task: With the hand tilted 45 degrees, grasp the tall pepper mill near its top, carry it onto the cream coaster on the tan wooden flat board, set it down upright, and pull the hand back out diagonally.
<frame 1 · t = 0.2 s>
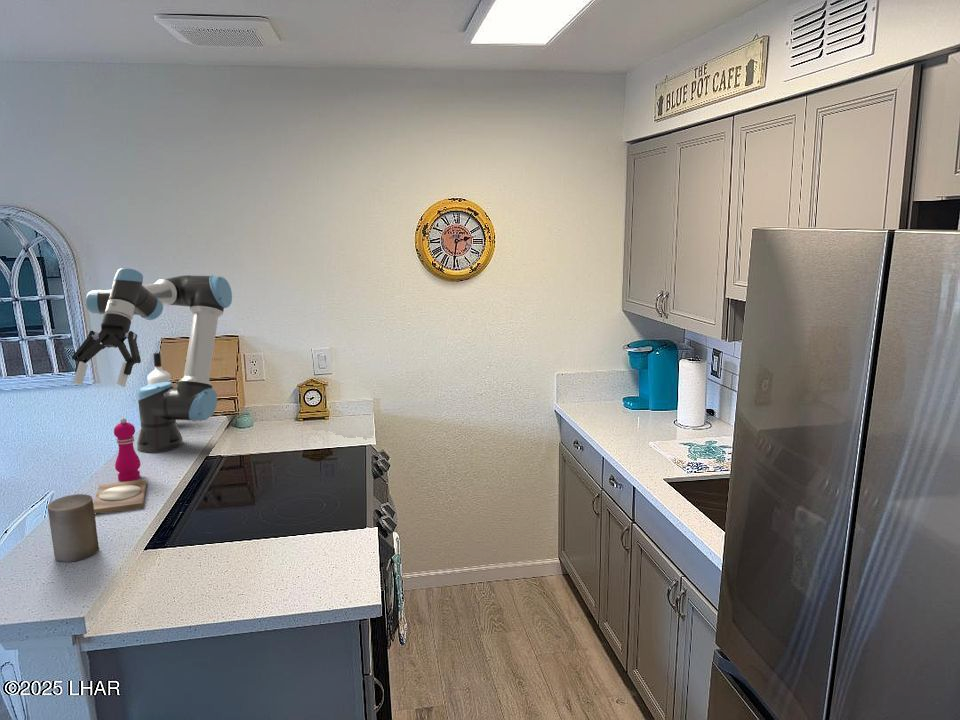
hand: (99, 384, 195), 35 cm above the counter, tool tilted 35°, fingers open, 13 cm apart
pepper mill: (129, 478, 219), on the counter
vodka: (163, 426, 273), on the counter
pillar candle: (76, 554, 170), on the counter
tan wooden flat board: (120, 498, 203), on the counter
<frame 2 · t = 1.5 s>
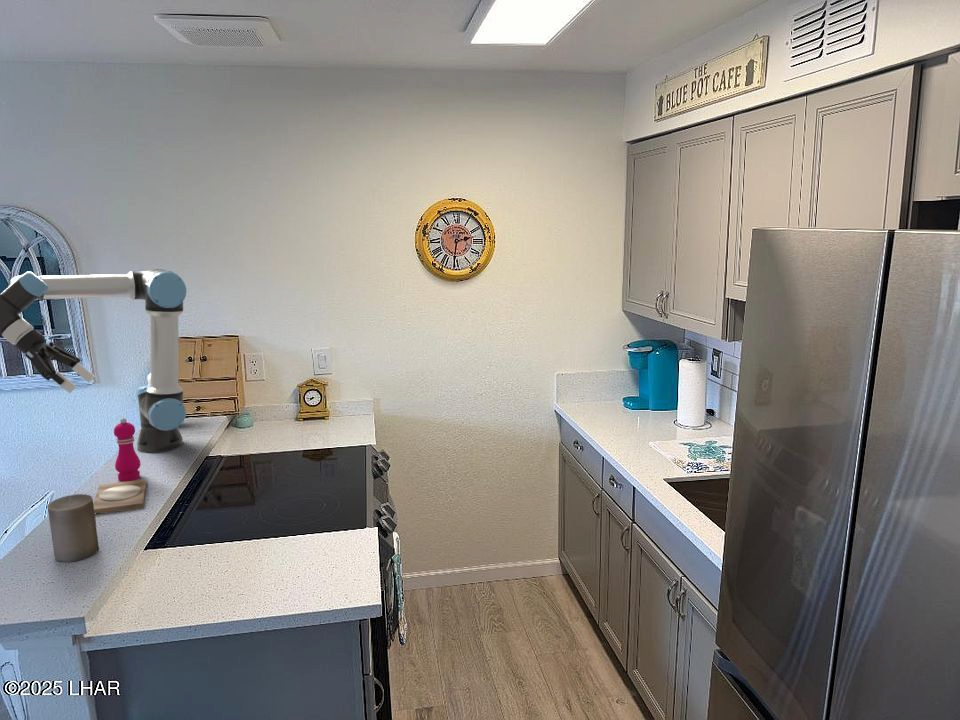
hand: (83, 384, 211), 31 cm above the counter, tool tilted 45°, fingers open, 13 cm apart
nothing on the counter moved.
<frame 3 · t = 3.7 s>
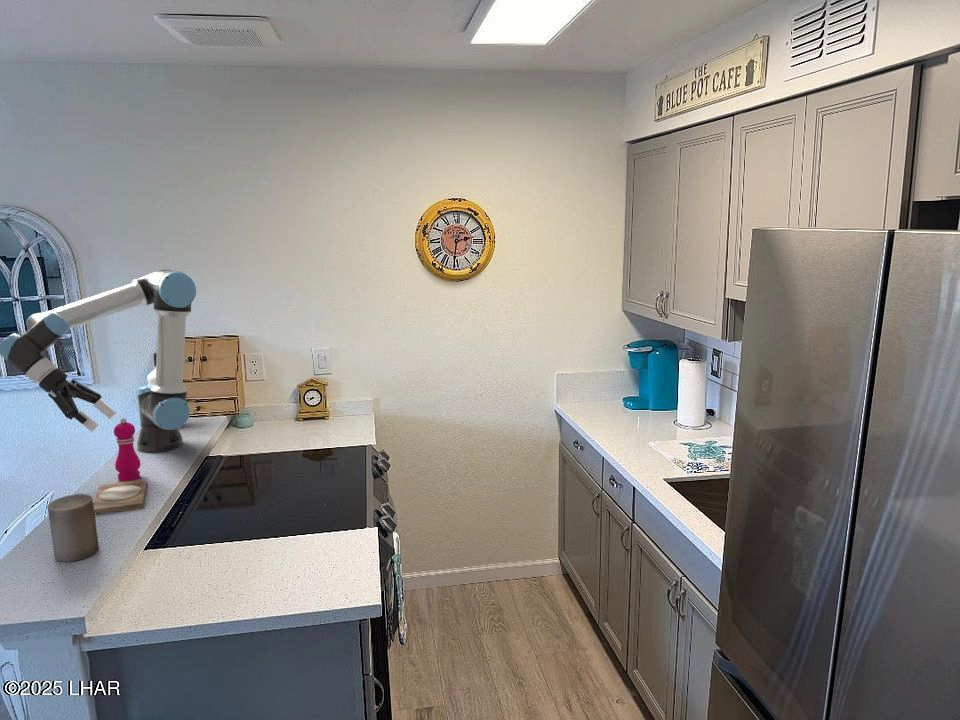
hand: (104, 422, 214), 19 cm above the counter, tool tilted 45°, fingers open, 13 cm apart
nothing on the counter moved.
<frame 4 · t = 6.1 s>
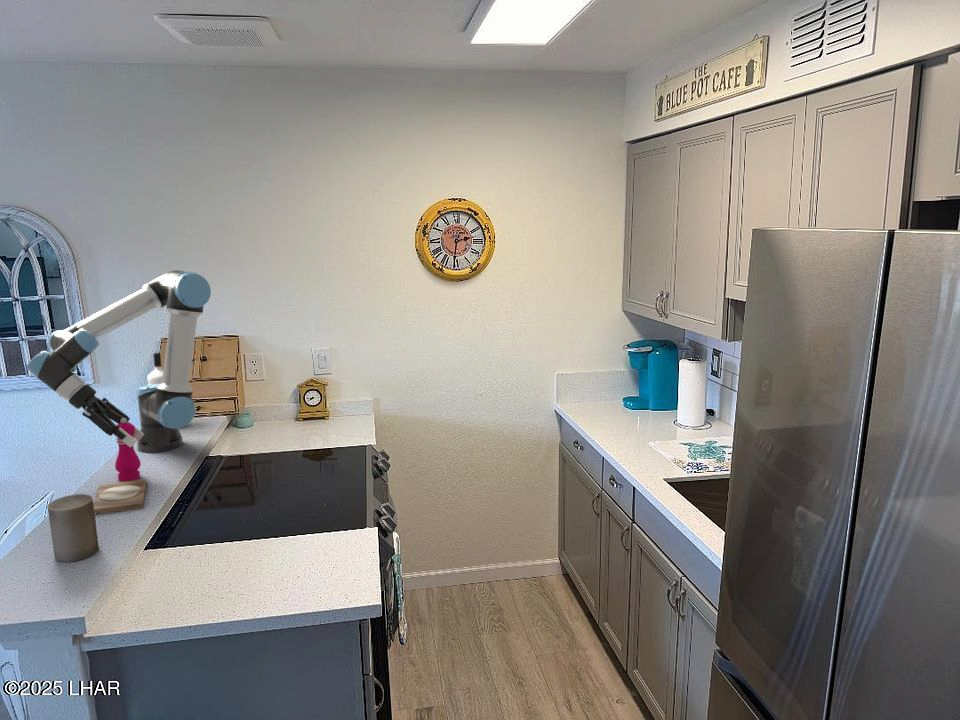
hand: (137, 440, 217), 12 cm above the counter, tool tilted 45°, fingers closed on pepper mill, 6 cm apart
pepper mill: (129, 478, 219), on the counter, touching gripper
everything else where it was.
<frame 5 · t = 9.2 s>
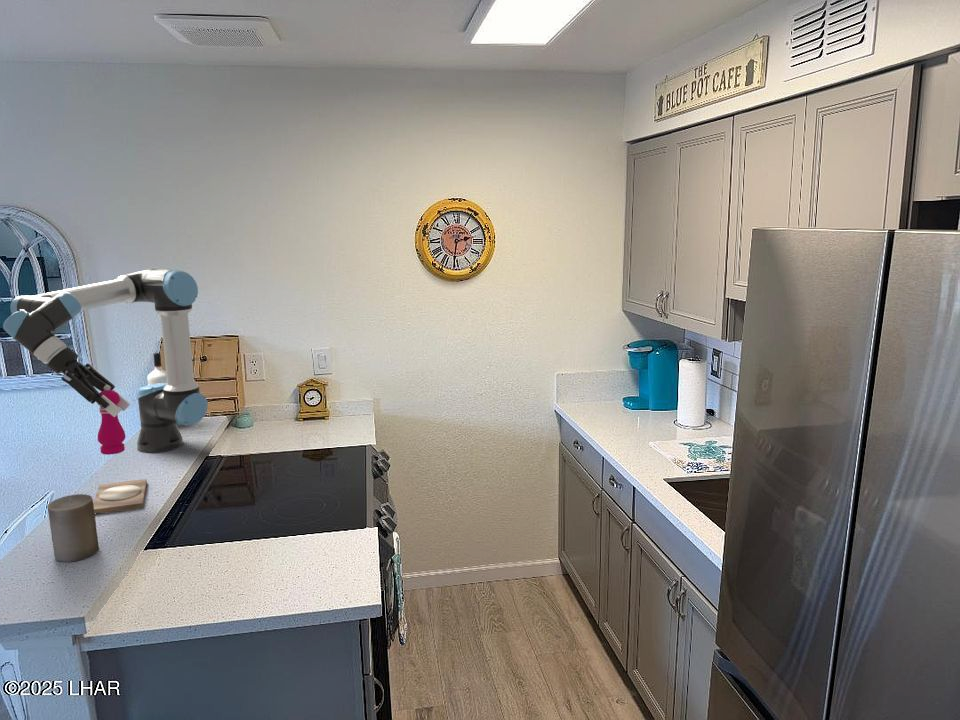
hand: (122, 410, 199), 27 cm above the counter, tool tilted 45°, fingers closed on pepper mill, 6 cm apart
pepper mill: (112, 452, 201), point 14 cm above the counter, touching gripper
everything else where it was.
when the fingers open (15 cm above the counter, at t = 12.3 s): pepper mill stays where it is, resting on tan wooden flat board.
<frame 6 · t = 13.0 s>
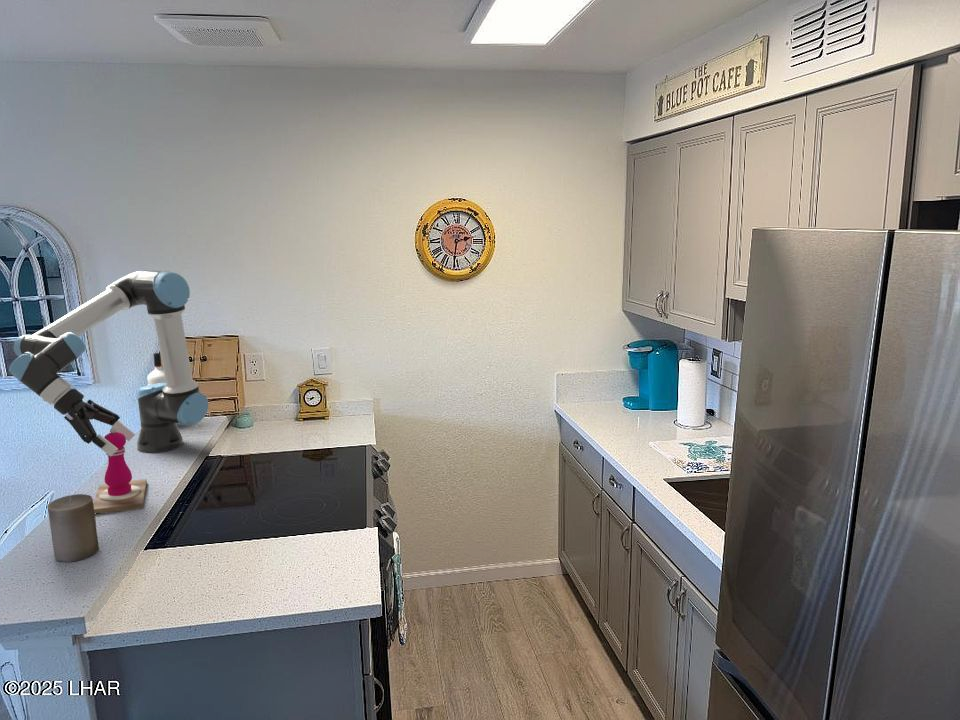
hand: (123, 445, 200), 16 cm above the counter, tool tilted 45°, fingers open, 13 cm apart
pepper mill: (119, 492, 203), point 2 cm above the counter, touching tan wooden flat board
everything else where it was.
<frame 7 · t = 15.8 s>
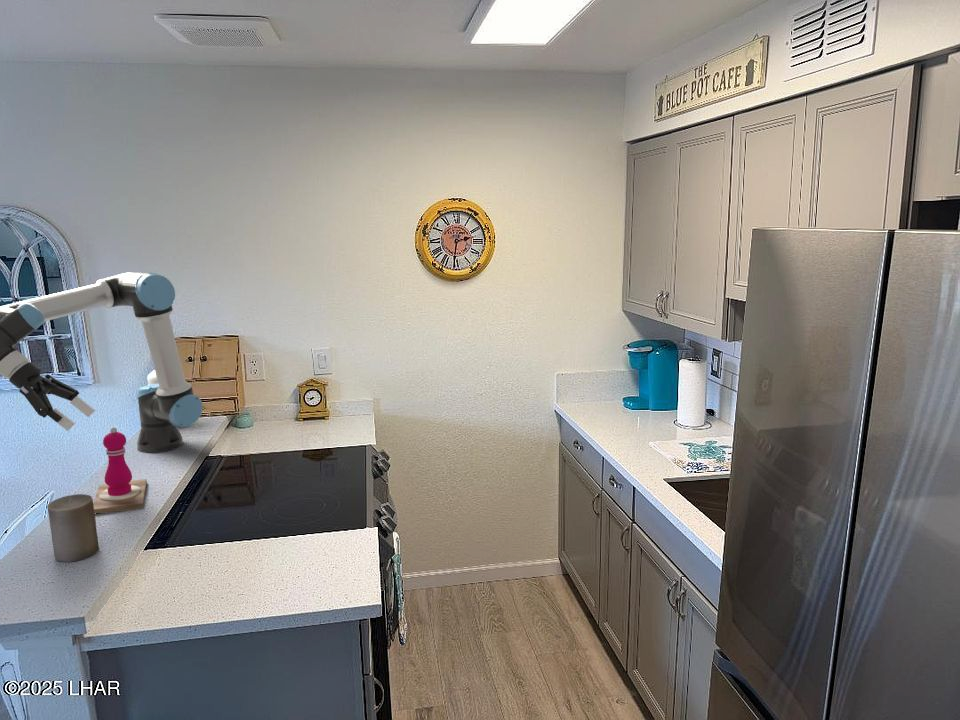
hand: (82, 420, 197), 24 cm above the counter, tool tilted 45°, fingers open, 13 cm apart
nothing on the counter moved.
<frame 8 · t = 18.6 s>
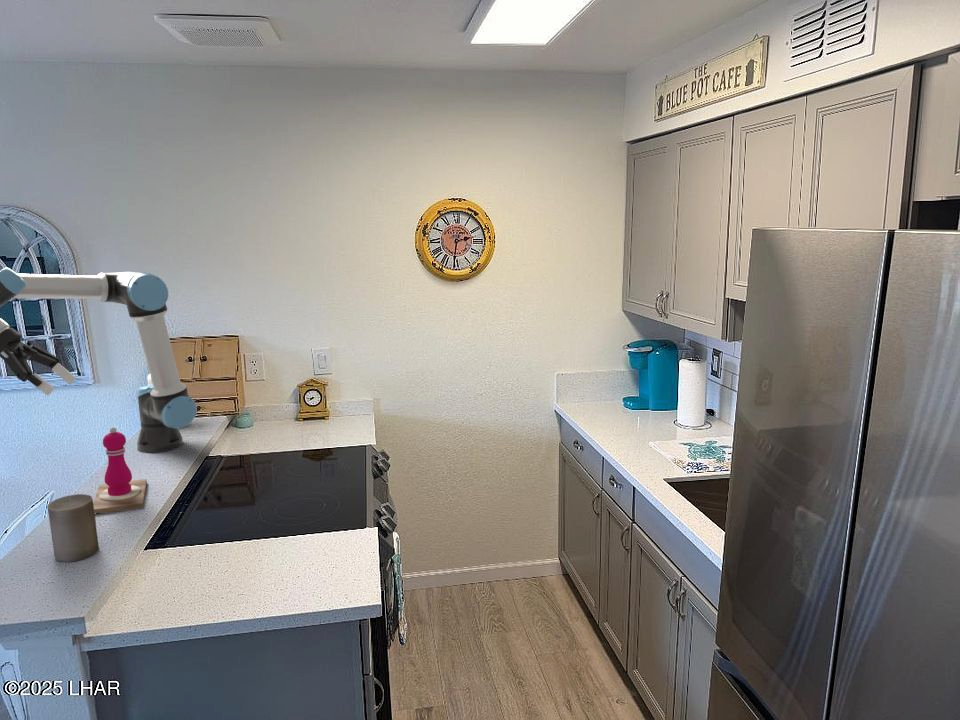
hand: (62, 386, 198), 34 cm above the counter, tool tilted 45°, fingers open, 13 cm apart
nothing on the counter moved.
at the end: pepper mill inside the target area on the tan wooden flat board (0.1 cm from its centre), point 1.7 cm above the tan wooden flat board's base; pepper mill tilted 0°; the gripper is holding nothing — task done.
